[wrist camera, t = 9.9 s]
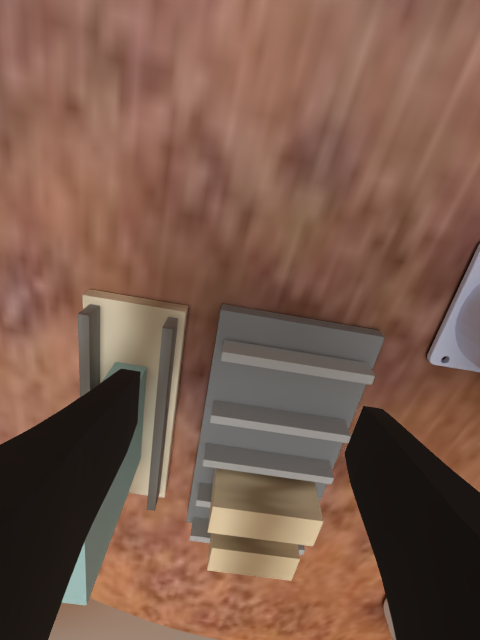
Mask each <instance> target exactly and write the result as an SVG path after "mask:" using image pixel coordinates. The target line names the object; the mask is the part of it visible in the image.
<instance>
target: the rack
mask: <svg viewBox="0 0 480 640" xmlns="http://www.w3.org/2000/svg"><path fill="white" fill-rule="evenodd" d="M384 338H385V337H384V336H383V334H382V333H381V332H380V331H379V330H375V329H369V328H363V327H357V326H351V325H345V324H339V323H333V322H327V321H321V320H316V319H310V318H304V317H298V316H292V315H286V314H280V313H274V312H268V311H262V310H256V309H250V308H244V307H238V306H232V305H226V304H222V306H221V311H220V317H219V323H218V329H217V336H216V342H215V348H214V354H213V360H212V367H211V373H210V379H209V385H208V391H207V397H206V404H205V410H204V416H203V422H202V428H201V434H200V441H199V447H198V453H197V459H196V465H195V471H194V478H193V484H192V490H191V496H190V502H189V508H188V515H187V521H186V522H191V523H192V529H191V535H190V541H197V542H205V543H210V536H211V533H208V524H209V515H210V505H211V496H212V487H213V479H214V474H215V468H220V469H227V470H234V471H241V472H248V473H255V474H262V475H269V476H276V477H283V478H290V479H298V480H305V481H312V482H315V486H316V490H317V495H318V499H319V502H320V500H321V497H322V495H323V492H324V490H325V487H326V485H327V484H332V482H333V479H334V477H333V473H332V470H333V467H334V465H335V462H336V459H337V457H338V454H339V452H340V449H341V447H342V444H343V442H344V443H348V442H349V440H350V437H351V435H350V432H349V430H348V429H349V427H350V424H351V422H352V419H353V417H354V414H355V412H356V409H357V407H358V404H359V401H360V399H361V396H362V394H363V391H364V389H365V386H366V384H370V385H372V383H373V381H374V378H375V375H374V374H373V372H372V369H373V366H374V364H375V361H376V359H377V356H378V354H379V351H380V349H381V346H382V344H383V341H384ZM298 548H299V555H303V553H304V551H305V549H304V545H299V544H298Z"/></svg>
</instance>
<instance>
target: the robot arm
mask: <svg viewBox="0 0 480 640" xmlns="http://www.w3.org/2000/svg"><path fill="white" fill-rule="evenodd" d="M445 356H446V358H445V359H444V360H441V359H442V358H443V357H445ZM427 360H428V361H429V362H430V363H431V364H433V365H438V366H444V367H450V368H457V369H463V370H469V371H475V372H480V244H479V246H478V248H477V250H476V252H475V254H474V256H473V258H472V260H471V263H470V265H469V267H468V269H467V271H466V273H465V275H464V278H463V280H462V282H461V284H460V286H459V288H458V290H457V293H456V295H455V297H454V299H453V301H452V303H451V305H450V308H449V310H448V312H447V314H446V316H445V318H444V320H443V323H442V325H441V327H440V329H439V331H438V333H437V335H436V338H435V340H434V342H433V344H432V346H431V348H430V350H429V353H428V355H427ZM140 373H141V372H140V371H134V370H127V369H120V370H118V371H117V372H115V373H114V374H112V375H111V376H110V377H108V378H107V379H105V380H104V381H103V382H101V383H100V384H98V385H97V386H96V387H94V388H93V389H92V390H90V391H89V392H87V393H86V394H84V395H83V396H81V397H80V398H79V399H77V400H76V401H74V402H73V403H71V404H70V405H68V406H67V407H65V408H64V409H62V410H61V411H59V412H57V413H56V414H54V415H52V416H51V417H49V418H48V419H46V420H44V421H43V422H41V423H40V424H38V425H36V426H34V427H33V428H31V429H29V430H27V431H26V432H24V433H22V434H20V435H18V436H16V437H14V438H12V439H10V440H9V441H7V442H5V443H3V444H1V445H0V640H48V638H49V635H50V632H51V630H52V627H53V624H54V621H55V619H56V616H57V613H58V611H59V608H60V605H61V603H62V600H63V597H64V594H65V592H66V589H67V586H68V584H69V581H70V578H71V576H72V573H73V571H74V568H75V565H76V563H77V560H78V558H79V555H80V552H81V550H82V547H83V545H84V542H85V540H86V537H87V535H88V533H89V531H90V528H91V526H92V524H93V522H94V520H95V518H96V516H97V514H98V512H99V509H100V507H101V505H102V503H103V501H104V499H105V497H106V495H107V493H108V491H109V489H110V487H111V485H112V483H113V481H114V479H115V477H116V475H117V473H118V471H119V469H120V466H121V464H122V462H123V460H124V458H125V456H126V454H127V452H128V449H129V446H130V443H131V440H132V438H133V435H134V432H135V429H136V426H137V423H138V407H139V390H140ZM345 458H346V463H347V469H348V474H349V478H350V483H351V486H352V490H353V493H354V496H355V499H356V502H357V505H358V508H359V511H360V514H361V517H362V520H363V523H364V526H365V529H366V531H367V534H368V537H369V540H370V543H371V546H372V549H373V552H374V555H375V558H376V561H377V564H378V568H379V571H380V574H381V578H382V582H383V586H384V590H385V594H386V598H387V602H388V606H389V610H390V614H391V619H392V623H393V628H394V632H395V637H396V640H480V492H478V491H477V490H476V489H475V488H473V487H472V486H471V485H470V484H469V483H467V482H466V481H465V480H464V479H462V478H461V477H460V476H459V475H458V474H456V473H455V472H454V471H453V470H452V469H450V468H449V467H448V466H447V465H446V464H445V463H443V462H442V461H441V460H440V459H439V458H438V457H436V456H435V455H434V454H433V453H432V452H431V451H430V450H429V449H427V448H426V447H425V446H424V445H423V444H422V443H421V442H420V441H418V440H417V439H416V438H415V437H414V436H413V435H412V434H411V433H410V432H408V431H407V430H406V429H405V428H404V427H403V426H402V425H401V424H400V423H398V422H397V421H396V420H395V419H394V418H393V417H391V416H390V415H389V414H388V413H387V412H385V411H384V410H383V409H379V408H373V407H366V406H364V407H363V409H362V411H361V414H360V416H359V419H358V421H357V424H356V426H355V429H354V431H353V434H352V436H351V439H350V441H349V444H348V446H347V448H346V451H345Z"/></svg>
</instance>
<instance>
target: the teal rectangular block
mask: <svg viewBox="0 0 480 640" xmlns="http://www.w3.org/2000/svg"><path fill="white" fill-rule="evenodd" d="M120 369H127V370H134V371H140V372H141V373H140V390H139V407H138V423H137V426H136V429H135V432H134V435H133V438H132V440H131V443H130V446H129V449H128V452H127V454H126V456H125V458H124V460H123V462H122V464H121V466H120V469H119V471H118V473H117V475H116V477H115V479H114V481H113V483H112V485H111V487H110V489H109V491H108V493H107V495H106V497H105V499H104V501H103V503H102V505H101V507H100V509H99V512H98V514H97V516H96V518H95V520H94V522H93V524H92V526H91V528H90V531H89V533H88V535H87V537H86V540H85V542H84V545H83V547H82V550H81V552H80V555H79V558H78V560H77V563H76V565H75V568H74V571H73V573H72V576H71V578H70V581H69V584H68V586H67V589H66V592H65V594H64V597H63V600H62V603H71V604H79V605H87V603H88V600H89V597H90V595H91V592H92V589H93V587H94V584H95V581H96V578H97V576H98V573H99V570H100V568H101V565H102V562H103V560H104V557H105V554H106V551H107V549H108V546H109V543H110V541H111V538H112V535H113V533H114V530H115V527H116V524H117V522H118V519H119V516H120V514H121V511H122V508H123V505H124V503H125V500H126V497H127V495H128V492H129V489H130V487H131V484H132V481H133V478H134V476H135V473H136V470H137V468H138V465H139V462H140V460H141V449H142V434H143V420H144V405H145V390H146V376H147V367H146V366H139V365H133V364H126V363H120V362H115V363H114V365H113V366H112V368H111V369H110V370H109V372H108V373H107V375H106V376H105V378H104V379H103V381H104V380H105V379H107V378H108V377H110V376H111V375H112V374H114V373H115V372H117V371H118V370H120ZM103 381H102V382H103Z"/></svg>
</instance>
